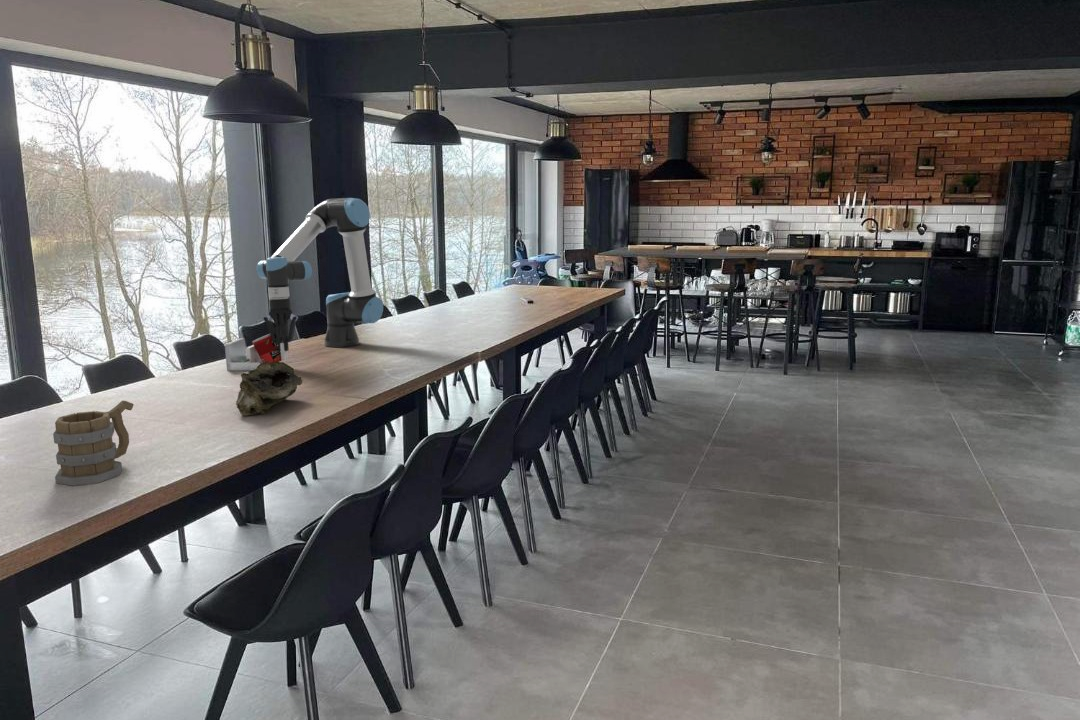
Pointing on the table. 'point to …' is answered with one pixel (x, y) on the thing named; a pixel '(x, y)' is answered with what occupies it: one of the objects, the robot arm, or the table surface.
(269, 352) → the canned food
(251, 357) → the white flat block
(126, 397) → the table surface
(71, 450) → the tankard
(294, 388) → the hollow geode rock
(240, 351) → the frame
